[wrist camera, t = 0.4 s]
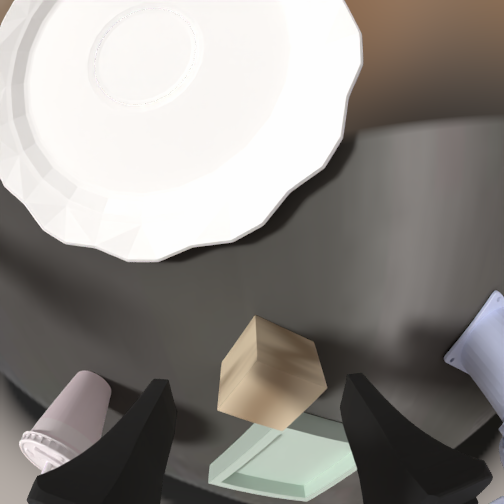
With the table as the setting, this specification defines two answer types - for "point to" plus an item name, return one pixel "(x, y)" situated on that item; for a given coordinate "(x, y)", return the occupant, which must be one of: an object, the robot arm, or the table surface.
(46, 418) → the smoothie
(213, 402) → the table surface
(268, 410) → the maple cube
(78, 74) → the plate
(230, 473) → the green tray
